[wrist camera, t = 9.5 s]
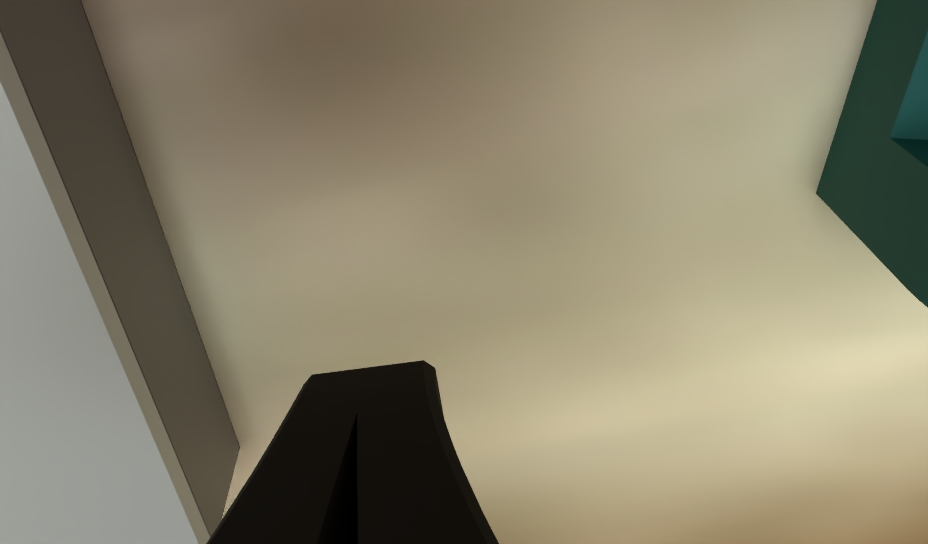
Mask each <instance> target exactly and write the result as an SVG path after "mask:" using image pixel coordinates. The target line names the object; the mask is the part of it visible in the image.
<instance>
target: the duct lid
mask: <svg viewBox="0 0 928 544" xmlns="http://www.w3.org/2000/svg"><path fill="white" fill-rule="evenodd" d="M209 539H210V536H209V534H208V531H207V529H206V526H205V524H204V522H203V519H202V517H201V514H200V512H199V509H198V507H197V505H196V502H195V500H194V497H193V495H192V493H191V490H190V488H189V485H188V483H187V481H186V478H185V476H184V473H183V471H182V469H181V466H180V464H179V461H178V459H177V456H176V454H175V452H174V449H173V447H172V444H171V442H170V440H169V437H168V435H167V432H166V430H165V428H164V425H163V423H162V420H161V418H160V416H159V413H158V411H157V408H156V406H155V403H154V401H153V399H152V396H151V394H150V391H149V389H148V387H147V384H146V382H145V379H144V377H143V375H142V372H141V370H140V367H139V365H138V363H137V360H136V358H135V355H134V353H133V350H132V348H131V346H130V343H129V341H128V338H127V336H126V334H125V331H124V329H123V326H122V324H121V322H120V319H119V317H118V314H117V312H116V310H115V307H114V305H113V302H112V300H111V297H110V295H109V293H108V290H107V288H106V285H105V283H104V281H103V278H102V276H101V273H100V271H99V269H98V266H97V264H96V261H95V259H94V257H93V254H92V252H91V249H90V247H89V244H88V242H87V240H86V237H85V235H84V232H83V230H82V228H81V225H80V223H79V220H78V218H77V216H76V213H75V211H74V208H73V206H72V204H71V201H70V199H69V196H68V194H67V191H66V189H65V187H64V184H63V182H62V179H61V177H60V175H59V172H58V170H57V167H56V165H55V163H54V160H53V158H52V155H51V153H50V151H49V148H48V146H47V143H46V141H45V138H44V136H43V134H42V131H41V129H40V126H39V124H38V122H37V119H36V117H35V114H34V112H33V110H32V107H31V105H30V102H29V100H28V98H27V95H26V93H25V90H24V88H23V85H22V83H21V81H20V78H19V76H18V73H17V71H16V69H15V66H14V64H13V61H12V59H11V57H10V54H9V52H8V49H7V47H6V45H5V42H4V40H3V37H2V35H1V33H0V544H206V543H207V542H208V540H209Z"/></svg>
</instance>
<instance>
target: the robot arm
mask: <svg viewBox="0 0 928 544" xmlns="http://www.w3.org/2000/svg"><path fill="white" fill-rule="evenodd" d="M206 544H499V543H498V541H497V539H496V537H495V535H494V533H493V531H492V529H491V528H490V526H489V524H488V522H487V520H486V518H485V516H484V514H483V512H482V510H481V507H480V505H479V503H478V501H477V499H476V496H475V494H474V492H473V490H472V488H471V486H470V483H469V481H468V479H467V477H466V475H465V473H464V470H463V468H462V466H461V463H460V461H459V459H458V456H457V454H456V451H455V449H454V446H453V443H452V440H451V438H450V435H449V432H448V429H447V426H446V423H445V420H444V416H443V410H442V404H441V399H440V393H439V387H438V381H437V376H436V370H435V368H434V367H433V366H431V365H430V364H428V363H427V362H425V361H424V360H423V361H416V362H408V363H400V364H392V365H384V366H377V367H369V368H361V369H353V370H345V371H338V372H330V373H322V374H314V375H311V377H310V378H309V379H308V380H307V381H306V382H305V384H304V385H303V387H302V389H301V390H300V392H299V394H298V396H297V397H296V399H295V401H294V403H293V405H292V406H291V408H290V410H289V412H288V413H287V415H286V417H285V419H284V420H283V422H282V424H281V426H280V427H279V429H278V431H277V432H276V434H275V436H274V438H273V439H272V441H271V443H270V444H269V446H268V448H267V449H266V451H265V453H264V454H263V456H262V458H261V459H260V461H259V463H258V464H257V466H256V468H255V469H254V471H253V472H252V474H251V476H250V477H249V479H248V480H247V482H246V483H245V485H244V486H243V488H242V490H241V491H240V493H239V494H238V496H237V497H236V499H235V500H234V502H233V504H232V505H231V507H230V508H229V510H228V511H227V513H226V514H225V516H224V518H223V519H222V521H221V522H220V524H219V525H218V527H217V528H216V530H215V531H214V533H213V534H212V536H211V537H210V539H209V540H208V542H207V543H206Z"/></svg>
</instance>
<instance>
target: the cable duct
mask: <svg viewBox="0 0 928 544" xmlns="http://www.w3.org/2000/svg"><path fill="white" fill-rule="evenodd" d="M0 33H1V35H2V37H3V40H4V42H5V45H6V47H7V49H8V52H9V54H10V57H11V59H12V61H13V64H14V66H15V69H16V71H17V73H18V76H19V78H20V81H21V83H22V85H23V88H24V90H25V93H26V95H27V98H28V100H29V102H30V105H31V107H32V110H33V112H34V114H35V117H36V119H37V122H38V124H39V126H40V129H41V131H42V134H43V136H44V138H45V141H46V143H47V146H48V148H49V151H50V153H51V155H52V158H53V160H54V163H55V165H56V167H57V170H58V172H59V175H60V177H61V179H62V182H63V184H64V187H65V189H66V191H67V194H68V196H69V199H70V201H71V204H72V206H73V208H74V211H75V213H76V216H77V218H78V220H79V223H80V225H81V228H82V230H83V232H84V235H85V237H86V240H87V242H88V244H89V247H90V249H91V252H92V254H93V257H94V259H95V261H96V264H97V266H98V269H99V271H100V273H101V276H102V278H103V281H104V283H105V285H106V288H107V290H108V293H109V295H110V297H111V300H112V302H113V305H114V307H115V310H116V312H117V314H118V317H119V319H120V322H121V324H122V326H123V329H124V331H125V334H126V336H127V338H128V341H129V343H130V346H131V348H132V350H133V353H134V355H135V358H136V360H137V363H138V365H139V367H140V370H141V372H142V375H143V377H144V379H145V382H146V384H147V387H148V389H149V391H150V394H151V396H152V399H153V401H154V403H155V406H156V408H157V411H158V413H159V416H160V418H161V420H162V423H163V425H164V428H165V430H166V432H167V435H168V437H169V440H170V442H171V444H172V447H173V449H174V452H175V454H176V456H177V459H178V461H179V464H180V466H181V469H182V471H183V473H184V476H185V478H186V481H187V483H188V485H189V488H190V490H191V493H192V495H193V497H194V500H195V502H196V505H197V507H198V509H199V512H200V514H201V517H202V519H203V522H204V524H205V526H206V529H207V531H208V534H209V536H210V537H211V536H212V534H213V533H214V531H215V530H216V528H217V527H218V525H219V524H220V522H221V520H222V516H223V512H224V508H225V504H226V500H227V496H228V492H229V488H230V484H231V480H232V476H233V472H234V468H235V464H236V460H237V456H238V452H239V448H240V447H239V444H238V441H237V438H236V436H235V433H234V430H233V427H232V424H231V422H230V419H229V416H228V413H227V410H226V408H225V405H224V402H223V399H222V396H221V394H220V391H219V388H218V385H217V382H216V380H215V377H214V374H213V371H212V368H211V366H210V363H209V360H208V357H207V354H206V352H205V349H204V346H203V343H202V340H201V338H200V335H199V332H198V329H197V326H196V324H195V321H194V318H193V315H192V312H191V310H190V307H189V304H188V301H187V298H186V295H185V293H184V290H183V287H182V284H181V281H180V279H179V276H178V273H177V270H176V267H175V265H174V262H173V259H172V256H171V253H170V251H169V248H168V245H167V242H166V239H165V237H164V234H163V231H162V228H161V225H160V223H159V220H158V217H157V214H156V211H155V209H154V206H153V203H152V200H151V197H150V195H149V192H148V189H147V186H146V183H145V181H144V178H143V175H142V172H141V169H140V167H139V164H138V161H137V158H136V155H135V153H134V150H133V147H132V144H131V141H130V138H129V136H128V133H127V130H126V127H125V124H124V122H123V119H122V116H121V113H120V110H119V108H118V105H117V102H116V99H115V96H114V94H113V91H112V88H111V85H110V82H109V80H108V77H107V74H106V71H105V68H104V66H103V63H102V60H101V57H100V54H99V52H98V49H97V46H96V43H95V40H94V38H93V35H92V32H91V29H90V26H89V24H88V21H87V18H86V15H85V12H84V10H83V7H82V4H81V1H80V0H0Z"/></svg>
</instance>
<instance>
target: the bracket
mask: <svg viewBox="0 0 928 544" xmlns="http://www.w3.org/2000/svg"><path fill="white" fill-rule="evenodd" d="M816 194H817V195H818V196H819V197H820V198H821V199H822V200H823V201H824V202H825V203H826V204H827V205H828V206H829V207H830V208H831V209H832V210H833V212H834V213H835V214H836V215H837V216H838V217H839V218H840V219H841V220H842V221H843V222H844V223H845V224H846V225H847V226H848V227H849V228H850V229H851V230H852V231H853V233H854V234H855V235H856V236H857V237H858V238H859V239H860V240H861V241H862V242H863V243H864V244H865V245H866V246H867V247H868V248H869V249H870V250H871V251H872V252H873V254H874V255H875V256H876V257H877V258H878V259H879V260H880V261H881V262H882V263H883V264H884V265H885V266H886V267H887V268H888V269H889V270H890V271H891V272H892V273H893V274H894V276H895V277H896V278H897V279H898V280H899V281H900V282H901V283H902V284H903V285H904V286H905V287H906V288H907V289H908V290H909V291H910V292H911V293H912V294H913V295H914V296H915V297H916V298H917V299H918V300H919V301H921V302H922V303H923V304H924V305H925V306H927V307H928V0H877V3H876V6H875V10H874V13H873V16H872V19H871V22H870V25H869V28H868V32H867V35H866V38H865V41H864V44H863V47H862V50H861V53H860V57H859V60H858V63H857V66H856V69H855V72H854V75H853V79H852V82H851V85H850V88H849V91H848V94H847V97H846V101H845V104H844V107H843V110H842V113H841V116H840V119H839V123H838V126H837V129H836V132H835V135H834V138H833V141H832V144H831V148H830V151H829V154H828V157H827V160H826V163H825V166H824V170H823V173H822V176H821V179H820V182H819V185H818V188H817V192H816Z"/></svg>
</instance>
